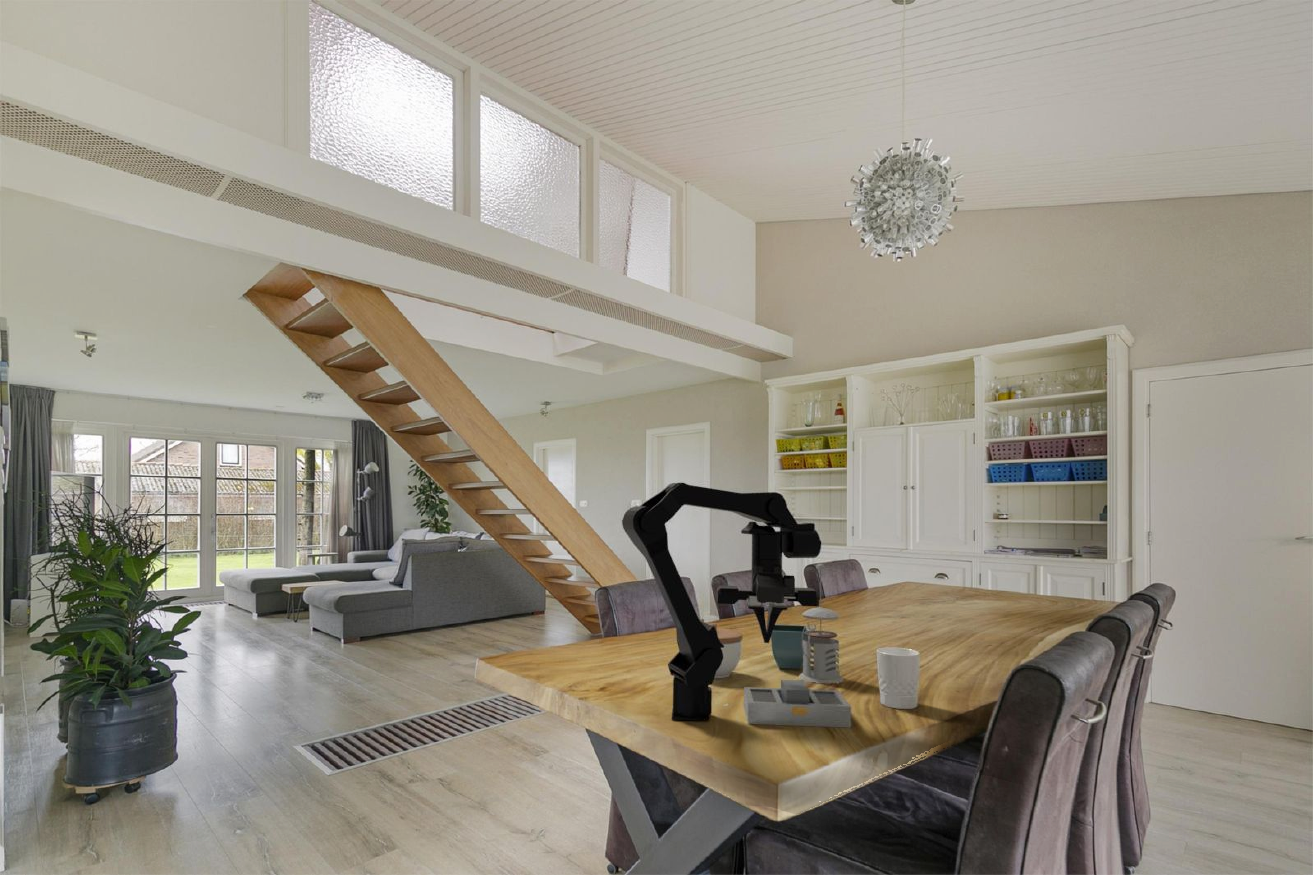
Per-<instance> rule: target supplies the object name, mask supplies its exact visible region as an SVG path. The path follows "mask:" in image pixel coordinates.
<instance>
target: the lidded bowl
mask: <svg viewBox="0 0 1313 875" xmlns="http://www.w3.org/2000/svg"><path fill="white" fill-rule="evenodd" d="M710 625H711V626H714V627H715V629H716V631H717V635H718V638H719V640H720V642H721V643H722V644H723V645H724V648H721V649H722V652H723V660H722V663H721V665H720V667H719V669H718V670H717V671H716V674H715V677H714V679H725V678H728V677H730V675H731V673H732V672H733V671H735V669H736V668H737V666H738V664H739V663H740V660H741V656H742V649H743V648H742V645H743V644H742V642H743V633H742V632H740V631H738V630H734V629H732V628H731V629H730V628H723V627H722V628H721V627H717V625H718V623H711V624H710Z"/></svg>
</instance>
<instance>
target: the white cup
mask: <svg viewBox="0 0 1313 875" xmlns="http://www.w3.org/2000/svg"><path fill="white" fill-rule="evenodd" d="M920 659H921V658H920V652H919V651H918V650H914V649H910V648H906V647H905V648H904V647H896V646H894V647H893V646H891V647H890V646H887V647H879V648H876V660H877V661H876V662H877V665H876V666H877V677H878V679H877V680H878V689H879V700H880V701H879V702H880V704H881V705H882V706H885V707H888V708H892V709H899V710H912V709H916V708H918V695H919V694H918V692H919V682H920Z"/></svg>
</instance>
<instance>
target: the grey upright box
mask: <svg viewBox="0 0 1313 875" xmlns="http://www.w3.org/2000/svg"><path fill="white" fill-rule="evenodd" d="M780 688H781V700H782V702H783V703H810V699H809V689H810V688H808V686H807V685H806V683H805V681H803V680H801V679H800V680H799V679H798V680H797V679H796V680H795V679H780Z"/></svg>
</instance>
